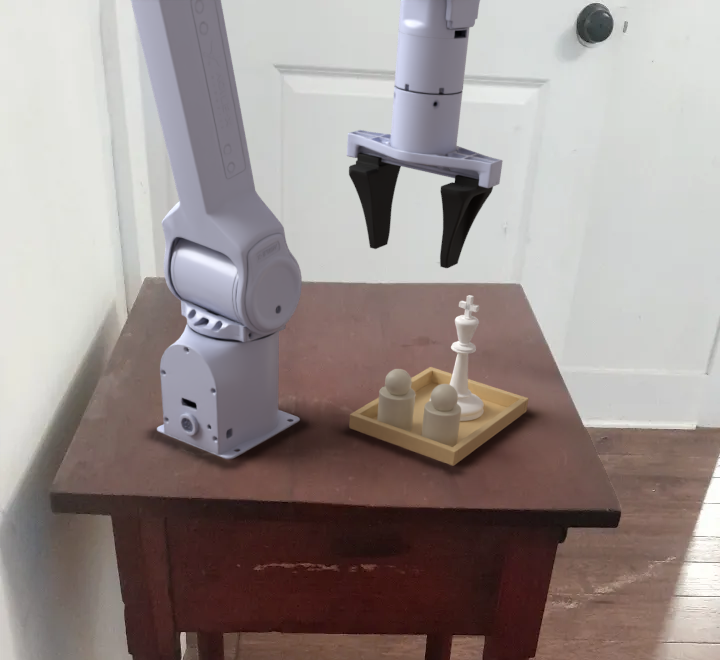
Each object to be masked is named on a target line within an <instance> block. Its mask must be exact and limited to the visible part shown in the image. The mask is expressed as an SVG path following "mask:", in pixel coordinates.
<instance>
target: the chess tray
mask: <svg viewBox="0 0 720 660" xmlns="http://www.w3.org/2000/svg"><path fill="white" fill-rule="evenodd" d="M452 374H453V373H451V372H448V371H445V370H442V369H439V368H436V367H433V366H429V367H427V368H426V369H424V370H423V371H421V372H419V373H417V374H416V375H414V376H412V377H411V381H412V384H411V389H413V390H414V391H415V403H414V413H413V423H412V429H411V431H410V432H408V431H406V430H403V429H400V428H397V427H394V426H392V425H389V424H386V423H383V422H380V421H377V416H378V403H379V396H378V397H377V398H375V399H374V400H372V401H370V402H368V403H366V404H365V405H363V406H362V407H360V408H358V409H357V410H355V411H353V412H351V413H350V414H349V423H348V424H349V429H351V430H354V431H357V432H360V433H362V434H365V435H367V436H370V437H373V438H375V439H378V440H382V441H384V442H387V443H390V444H392V445H395V446H398V447H401V448H403V449H405V450H409V451H411V452H415V453H417V454H420V455H422V456H425V457H427V458H431V459H433V460H436V461H439V462H441V463H444V464H447V465H450V466H455V465H457V464H458V463H459V462H460V461H462V460H463V459H465V458H466V457H467V456H469V455H470V454H471V453H472V452H474V451H475V450H476V449H478V448H479V447H481V446H482V445H483V444H485V443H486V442H487V441H489V440H490V439H492V438H493V437H494V436H495V435H497V434H498V433H499V432H501V431H502V430H503V429H505V428H507V427H508V426H509V425H510V424H512V423H513V422H514V421H516V420H517V419H518V418H520V417H521V416H523V415H524V414H525V413H527V410H528V406H529V400H530V398H529V397H526V396H523V395H519V394H517V393H513V392H511V391H507V390H504V389H502V388H498V387H494V386H491V385H489V384H485V383H482V382H480V381H477V380H473V379H470V378H468V389H469V390H470V391H471V393H472V394H475V395H476V396H478V397H479V398H480V399H481V400H482V401H483V404H484V406H483V410H484V412H483V414H482V415H481V416H480V417H479V418H477V419H474V420H469V421H460V424H459V431H458V439H457V444H456V445H455V446H454V447H450V446H448V445H445V444H442V443H439V442H436V441H434V440H431V439H428V438H425V437H422V436H421V435H422V425H423V416H424V407H425V404H426V403H427V402H429V401H430V397H431V393H432V391H433V389H434V388H435V387H436V386H438V385H440V384H449V385H450V381H451V378H452Z"/></svg>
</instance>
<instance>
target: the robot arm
mask: <svg viewBox="0 0 720 660" xmlns="http://www.w3.org/2000/svg"><path fill="white" fill-rule="evenodd" d="M399 2H400V3H399V16H398V30H397V45H396V59H395V71H394V73H395V74H394V85H393V98H392V111H391V112H392V113H391V128H390V133H383V132H375V131H370V130H369V131H368V130H364V129H358V130H354V131H350V132H347V141H346V143H347V145H346V156H347V157H348V158H353V159H356V161H355V163H354V164H352V165H349V166H348V176H349V178H350V180H351V182H352V184H353V186H354V188H355V191H356V193H357V195H358V196H357V197H358V198H359V201H360V204H361V208H362V211H363V216H364V220H365V225H366V231H367V236H368V237H367V238H368V244H369V248H370V249H374V250H377V249H379V248H381V247H385V246H386V245H388V243H389V238H390V231H391V222H392V207H393V200H394V197H395V196H394V195H395V192H396V191H395V190H396V186H397V181H398V177H399V174H400V172H401V171H400V170H401V167H403V168H407V169H412V170H416V171H420V172H425V173H428V174H433V175H439V176H443V177H447V178H452V179H454V182H449V183H446V184H443V185H441V186H440V197H441V205H442V237H441V245H440V253H439V266H440V268H443V269H449V268H452V267H453V266H455V265H458V263H459V260H460V256H461V253H462V251H463V247H464V244H465V242H466V239H467V237H468V234H469V232H470V230H471V228H472V226H473V223H474V222H475V220H476V218H477V216H478V215H479V213H480V210H481V209H482V208H483V206H484V204H485V203H486V201H487V199H489V197H490V195H491V194H492V192H493V189H494V187H496V186H498V185H500V182H501V176H502V175H501V174H502V168H503V161H504V160H503V159H500V158H495V157H491V156H488V155H484V154H482V153H479V152H476V151H474V150H470V149H467V148H464V147H462V146H459V145H458V137H459V128H460V119H461V108H462V101H463V90H464V83H465V73H466V64H467V55H468V45H469V36H470V29H471V28H473V27H474V26H475V23H476V20H478V15H479V8H480V2H481V0H400V1H399ZM130 3H131V7H132V12H133V15H134V19H135V24H136V27H137V31H138V32H137V33H138V36H139V40H140V44H141V49H142V52H143V56H144V60H145V65H146V69H147V73H148V77H149V82H150V86H151V90H152V94H153V98H154V103H155V106H156V111H157V114H158V115H157V116H158V119H159V122H160V128H161V131H162V135H163V139H164V144H165V148H166V152H167V157H168V160H169V164H170V169H171V173H172V177H173V181H174V185H175V189H176V193H177V197H178V200H179V201H177V202H176V203H175V205H173V207H171V209H170V210H169V211H168V212H167V213H166V215H165V216H164V217H163V219H162V220H161V227H162V230H163V235H164V241H165V243H164V244H165V250H164V258H163V274H164V280H165V283H166V286H167V288H168V289H169V291H170V292H171V295H173V296H174V297H175V298H176V299H177V300H178V301H180V307H181V310H180V311H181V316H183V317H185V318H186V325H185V328H184V330H183V332H182V334H181V336H179V338H178V339H177V340H176V341H174V342H173V343H172V344H171V345H169V346H168V347H167V348H166V349H165V350H164V352H163V354H162V356H161V359H160V365H159V374H160V390H161V402H162V405H161V406H162V416H163V417H162V419H163V424H161V425H159V426H158V427H156V431H157V432H158V433H160V434H163V435H164V436H165V435H166V436H167V437H170V438H173V439H175V440H178V441H180V442H182V443H185V444H187V445H190V446H193V447H195V448H198V449H200V450H202V451H205V452H207V453H210V454H212V455H214V456H217V457H220V458H222V459H224V460H233V459H235V458H237V457H239V456H240V455H242V454H244V453H246V452H248V451H249V450H251V449H253V448H255V447H256V446H258V445H260V444H262V443H264V442H266V441H267V440H269V439H271V438H273V437H274V436H276V435H277V434H279V433H282V432H283V431H285V430H286V429H288V428H290V427H291V426H295V424H297V423H299V422H300V421H301V419H300V417H298V416H297V415H293V414H292V413H289V412H285V411H283V410H281V409H279V394H280V393H279V388H280V386H279V385H280V381H279V380H280V379H279V377H280V375H279V374H280V332H281V331H284V330H286V328H287V326H286V325H287V324H288V323H289V322H290V320H291V319H292V317H293V315H294V314H295V312H296V310H297V307H298V306H299V302H300V299H301V294H302V286H303V280H302V278H303V277H302V272H301V267H300V264H299V262H298V260H297V259H296V257H295V256H294V254H293V253H292V252H291V250H290V248H289V245H288V243H287V238H286V233H285V228H284V226H283V224H282V223H281V221H280V220H279V219H278V218H277V216H276V215H275V214H274V212H273V211H272V210H271V209H270V207H269V206H267V204H266V203H265V202H264V200H263V199H262V198H261V196H259V194H258V192H257V191H256V186H255V180H254V176H253V169H252V165H251V159H250V153H249V147H248V142H247V138H246V132H245V126H244V120H243V116H242V109H241V104H240V99H239V93H238V87H237V82H236V77H235V72H234V71H235V70H234V65H233V59H232V54H231V47H230V42H229V38H228V33H227V32H228V31H227V27H226V22H225V15H224V11H223V10H224V9H223V5H222V0H130Z"/></svg>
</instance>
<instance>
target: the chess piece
mask: <svg viewBox="0 0 720 660" xmlns="http://www.w3.org/2000/svg"><path fill="white" fill-rule="evenodd" d="M474 300H475V296H474V295H471V294H469V295H466V300H460V301H459V302H458V308H461V309H464V314H461V315H458V316H456V317H455V318H454V323H455V328H456V335H457V339H458V340H457V341H454V342H452V344H451V346H450V350H452V351H453V352H454V353H456V358H455V362H454V366H453V369H452V370H453V371H452V373H451V374H452V378H451V381H450V385H451V386H452V387H454V388H455V390H456V392H457V394H458V401H457V404H458V405H459V406H460V407H461V416H460V421H469V420H474V419H477V418H479V417H480V416H481V415H482V414H483V412H484V410H483V406H484V404H483V401H482V400H481V399H480V398H479V397H478V396H476V395H475V394H472V393H471V391H470V390H469V389H468V379H469V355H471V354H474V353H475V352H476V351H477V346H476V345H475V343H473V342H471V341H472V339H473V337H474V335H475V333H476V330H477V329H478V327H479V325H480V319H478V318H477V317H476V316H473V315H472V313H473V312H474V313H478V312H479V311H480V305H479V304H475V303H474ZM430 401H431V397H430Z"/></svg>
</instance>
